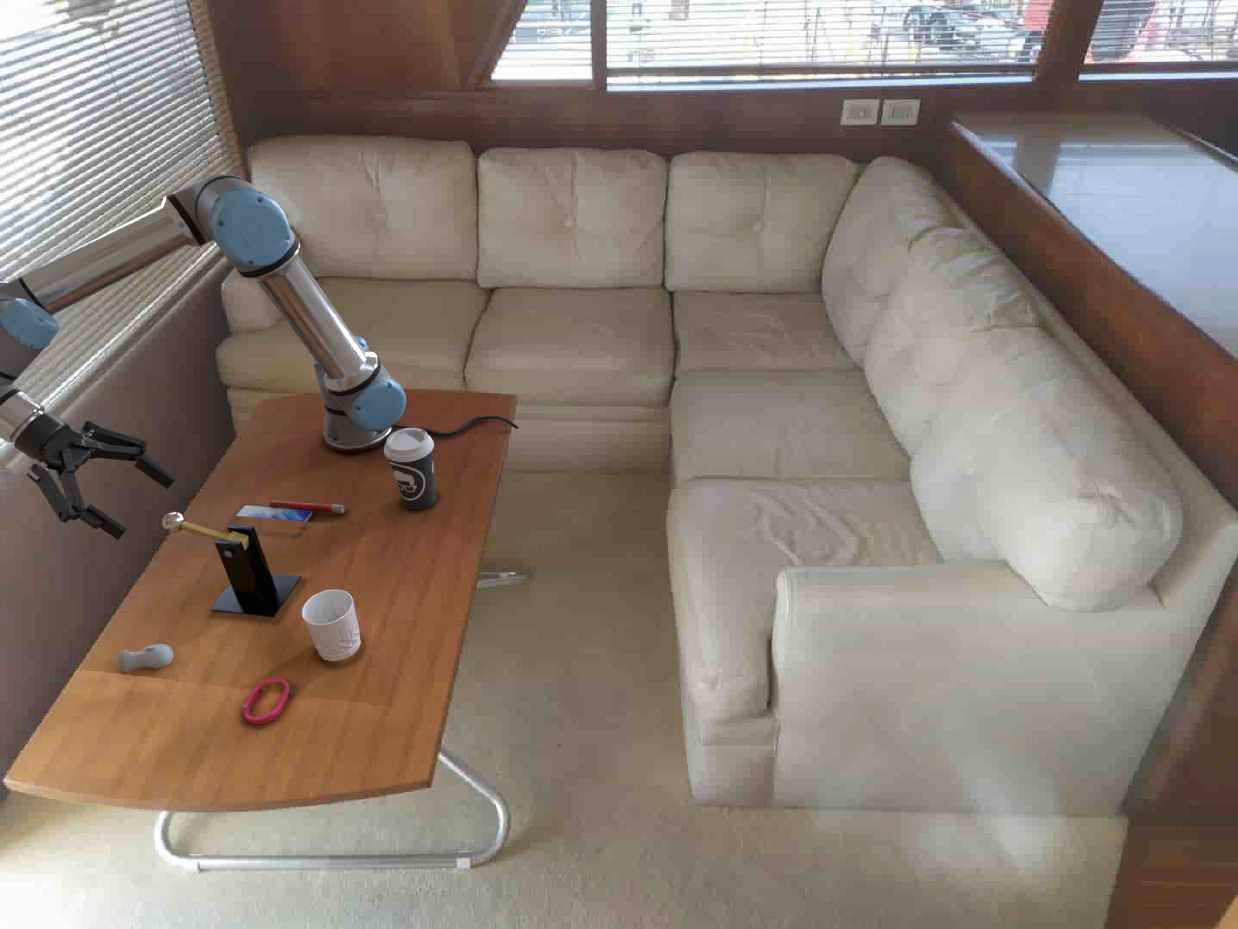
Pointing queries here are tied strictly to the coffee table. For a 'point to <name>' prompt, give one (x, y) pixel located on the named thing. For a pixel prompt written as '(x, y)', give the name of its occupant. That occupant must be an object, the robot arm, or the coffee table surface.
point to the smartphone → (274, 513)
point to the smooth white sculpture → (146, 658)
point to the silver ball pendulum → (199, 529)
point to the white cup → (332, 624)
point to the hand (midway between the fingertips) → (148, 508)
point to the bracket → (250, 578)
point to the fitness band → (255, 695)
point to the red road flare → (308, 506)
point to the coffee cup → (412, 466)
